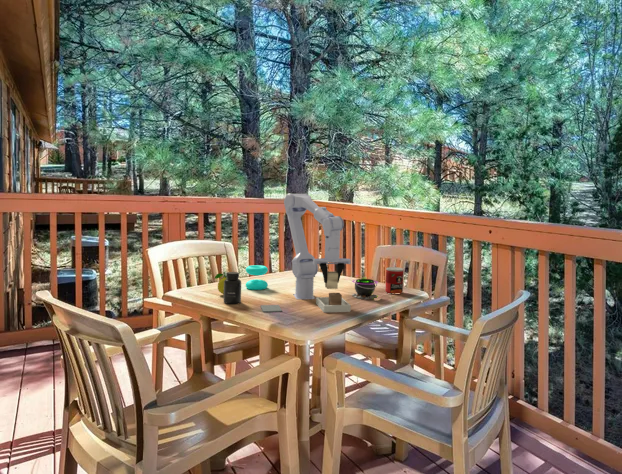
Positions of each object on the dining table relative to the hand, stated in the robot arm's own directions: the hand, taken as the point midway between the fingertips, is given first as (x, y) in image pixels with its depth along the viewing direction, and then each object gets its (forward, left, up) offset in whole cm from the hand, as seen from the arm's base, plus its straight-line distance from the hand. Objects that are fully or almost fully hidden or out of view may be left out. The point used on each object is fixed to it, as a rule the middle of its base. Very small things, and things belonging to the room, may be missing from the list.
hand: (331, 282), depth 195 cm
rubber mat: (+1, -22, -10) cm, 24 cm away
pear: (-25, -40, -10) cm, 48 cm away
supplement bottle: (-11, -37, -10) cm, 40 cm away
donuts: (-38, -25, -10) cm, 47 cm away
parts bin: (+3, 0, -10) cm, 10 cm away
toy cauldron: (-14, +18, -10) cm, 25 cm away
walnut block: (+7, 0, -9) cm, 11 cm away
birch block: (0, 0, -2) cm, 2 cm away
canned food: (-23, +35, -10) cm, 42 cm away
